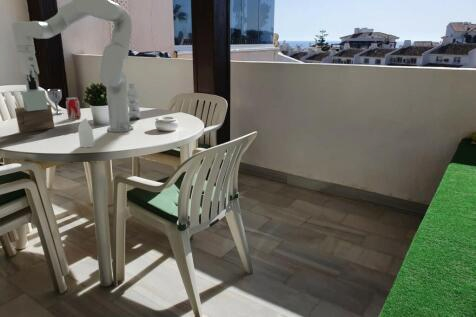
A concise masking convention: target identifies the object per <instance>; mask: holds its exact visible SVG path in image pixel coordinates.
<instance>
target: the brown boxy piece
mask: <svg viewBox="0 0 476 317" xmlns="http://www.w3.org/2000/svg"><path fill="white" fill-rule="evenodd" d="M47 106H48V109H43V110H34V111H27V110H25V109H24V106H23V107H22V106H21V107H14V112H15V116H16V117H15V118H16V122H17V127H18V131H19V133H20V134H21V133H28V132H34V131H41V130H48V129H53V128H56V127H55V122H54V115H52V114H53V111H52V104H48V103H47Z"/></svg>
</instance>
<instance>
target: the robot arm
mask: <svg viewBox="0 0 476 317" xmlns="http://www.w3.org/2000/svg"><path fill="white" fill-rule="evenodd" d="M89 16H92V17H94V18H97V19H99V20H100V19H101V20H103V21H107V22H111V23H113V28H112V32H111V39H110V43H109V44H107V45H106V46H105V47H104V49H103V52H102V57H101V62H100V70H99V80H100V83H101V84H102V85H103V86H104V87H105V88H106V99H107V100H106V101H107V109H108V110H107V111H108V117H109V119H108V120H109V126H108V127H107V132H111V133H124V132H128V131H129V132H130V131H132V130H134V126H133V125H132V124H130V117H129V101H128V95H127V92H128V90H127V75H126V72H125V70H124V69H123V67H124V63H125V62H126V61H127V60H128V58H129V53H130V52H129V51H130V47H131V46H130V45H131V39H132V32H133V30H132V29H133V22H132V19H131V16H130V14H129V12H128V11H127V10H126V9H125V8H124V7H122V5H120V4H118V3H117V2H114V1H112V0H70V1H69V2H66V3H65V4H63V5H61V6H60V7H58V10H57V13H56V14H55V15H54V16H52V17H49V19H47V20H46V19H45V21H41V20H40V21H38V20H32V21H13V22H12V24H11V27H12V33H13V37H14V44H15V50H16V54H18V55H19V62H20V67H21V72H22V74H23V75H24V76H25V77H26V81H28V84H29V89H30V90H34V89H37V86H36V80H37V79H36V75H39V74H40V69H39V66H38V61H37V58H36V49H35V47H36V46H35V43H34V39H45V40H46V39H50V38H53V37H55V36H57V35H58V34H61V33H63V32H64V31H66V30H67V29H69V28H70V27H71V26H72V25H75V24H77V23H78V22H80V21H82V20H84V19H86V18H87V17H89Z"/></svg>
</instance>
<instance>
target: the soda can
mask: <svg viewBox="0 0 476 317" xmlns="http://www.w3.org/2000/svg"><path fill="white" fill-rule="evenodd" d="M65 107H66V113H67V117H68V119H70V120H80V118H81V117H82V113H81V107H80V101H79V99H78V97H76V96H74V97H66V100H65Z"/></svg>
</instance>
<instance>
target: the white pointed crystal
mask: <svg viewBox="0 0 476 317" xmlns="http://www.w3.org/2000/svg"><path fill="white" fill-rule="evenodd" d="M77 131H78V139H79V140H78V141H79V146H80V148H82V147H83V149H85V148H86V149H87V147H89V148H92V147H94V146H95V138H94V133H93V127H92V126H91V125H90V124H89V121H88V119H87V118H83V120H81V121H80V123H79V124H78V128H77Z"/></svg>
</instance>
